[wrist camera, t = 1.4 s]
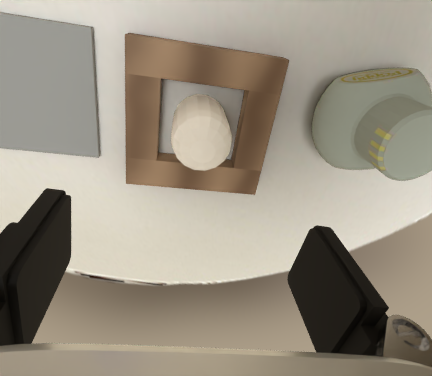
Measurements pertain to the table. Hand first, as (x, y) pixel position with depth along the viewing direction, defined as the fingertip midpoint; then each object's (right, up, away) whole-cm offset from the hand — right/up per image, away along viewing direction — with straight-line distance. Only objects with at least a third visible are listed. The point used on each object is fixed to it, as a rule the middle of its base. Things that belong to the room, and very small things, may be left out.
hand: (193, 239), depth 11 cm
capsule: (-1, +9, +19) cm, 21 cm away
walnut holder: (-1, +9, +18) cm, 20 cm away
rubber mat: (-16, +11, +16) cm, 25 cm away
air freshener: (+15, +10, +19) cm, 27 cm away
